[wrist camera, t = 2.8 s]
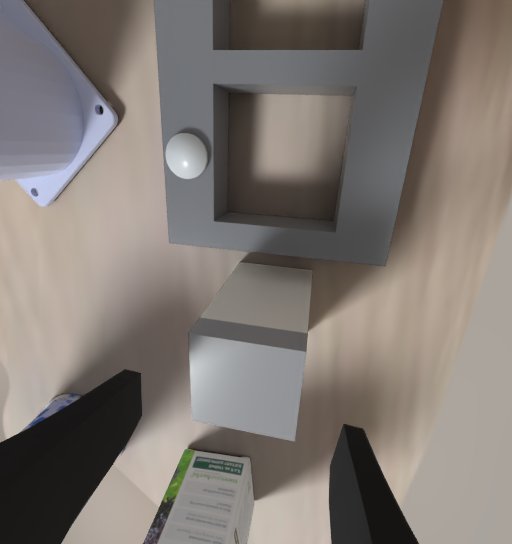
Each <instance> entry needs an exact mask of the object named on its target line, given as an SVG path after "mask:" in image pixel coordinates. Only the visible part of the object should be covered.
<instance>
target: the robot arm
mask: <svg viewBox="0 0 512 544" xmlns="http://www.w3.org/2000/svg"><path fill="white" fill-rule="evenodd" d="M100 106H102V107H103V110H104V112H103V114H102V115H101V113H100ZM117 123H118V117H117V114H116V112H115V111H114V110H113V108H112V107H111V106H110V105H109V104H108V102H107V101H106V100H105V99H104V97H103V96H102V95H101V94H100V93H99V91H98V90H97V89H96V88H95V87H94V85H93V84H92V83H91V82H90V80H89V79H88V78H87V77H86V76H85V74H84V73H83V72H82V71H81V69H80V68H79V67H78V66H77V65H76V63H75V62H74V61H73V60H72V58H71V57H70V56H69V55H68V54H67V52H66V51H65V50H64V49H63V48H62V46H61V45H60V44H59V43H58V41H57V40H56V39H55V38H54V37H53V35H52V34H51V33H50V32H49V30H48V29H47V28H46V27H45V26H44V24H43V23H42V22H41V21H40V19H39V18H38V17H37V16H36V15H35V13H34V12H33V11H32V10H31V9H30V7H29V6H28V5H27V4H26V2H25V1H24V0H0V181H7V180H16V181H17V182H18V183H19V184H20V185H21V187H22V188H23V189H24V190H25V191H26V192H27V193H28V194H29V195H30V196H31V197H32V198H33V199H34V201H35V202H36V203H37V204H38V205H40V206H42V207H45V206H49V205H51V204H52V203H53V201H54V200H55V199H56V198H57V197H58V195H59V194H60V193H61V192H62V191H63V189H64V188H65V187H66V186H67V185H68V183H69V182H70V181H71V180H72V179H73V177H74V176H75V175H76V174H77V172H78V171H79V170H80V169H81V168H82V166H83V165H84V164H85V163H86V162H87V160H88V159H89V158H90V157H91V156H92V154H93V153H94V152H95V151H96V150H97V148H98V147H99V146H100V145H101V144H102V142H103V141H104V140H105V139H106V138H107V136H108V135H109V134H110V133H111V132H112V130H113V129H114V128H115V127H116V125H117ZM36 189H37V191H38V194H37V192H36ZM141 416H142V400H141V373H138V372H134V371H130V370H126V369H125V370H123V371H122V372H120V373H119V374H117V375H115V376H114V377H112V378H111V379H109V380H107V381H106V382H104V383H103V384H101V385H100V386H98V387H96V388H95V389H93V390H92V391H90V392H89V393H87V394H85V395H84V396H82V397H81V398H79V399H77V400H76V401H74V402H72V403H71V404H69V405H68V406H66V407H64V408H63V409H61V410H59V411H58V412H56V413H54V414H52V415H51V416H49V417H47V418H45V419H44V420H42V421H40V422H38V423H37V424H35V425H33V426H31V427H30V428H28V429H26V430H24V431H22V432H20V433H18V434H16V435H14V436H13V437H11V438H9V439H7V440H5V441H3V442H1V443H0V544H61V543H62V541H63V539H64V538H65V536H66V534H67V532H68V531H69V529H70V527H71V525H72V524H73V522H74V521H75V519H76V518H77V516H78V515H79V513H80V511H81V510H82V508H83V507H84V505H85V504H86V503H87V501H88V500H89V498H90V497H91V495H92V494H93V492H94V491H95V489H96V488H97V487H98V485H99V484H100V482H101V481H102V479H103V478H104V476H105V475H106V474H107V472H108V471H109V469H110V468H111V466H112V465H113V463H114V462H115V460H116V459H117V457H118V456H119V454H120V453H121V452H122V450H123V449H124V447H125V446H126V444H127V442H128V440H129V439H130V437H131V435H132V433H133V431H134V430H135V428H136V426H137V424H138V422H139V420H140V418H141ZM329 510H330V526H331V541H332V544H419V543H418V541H417V539H416V537H415V535H414V534H413V532H412V530H411V528H410V527H409V525H408V523H407V521H406V519H405V517H404V515H403V513H402V511H401V509H400V507H399V505H398V503H397V501H396V499H395V497H394V495H393V493H392V491H391V489H390V487H389V485H388V483H387V481H386V479H385V477H384V475H383V473H382V470H381V468H380V466H379V464H378V462H377V459H376V457H375V455H374V453H373V450H372V448H371V446H370V443H369V441H368V438H367V436H366V433H365V431H364V430H363V429H362V428H358V427H354V426H350V425H346V424H343V427H342V430H341V434H340V437H339V440H338V443H337V446H336V449H335V452H334V455H333V458H332V461H331V465H330V481H329Z"/></svg>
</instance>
